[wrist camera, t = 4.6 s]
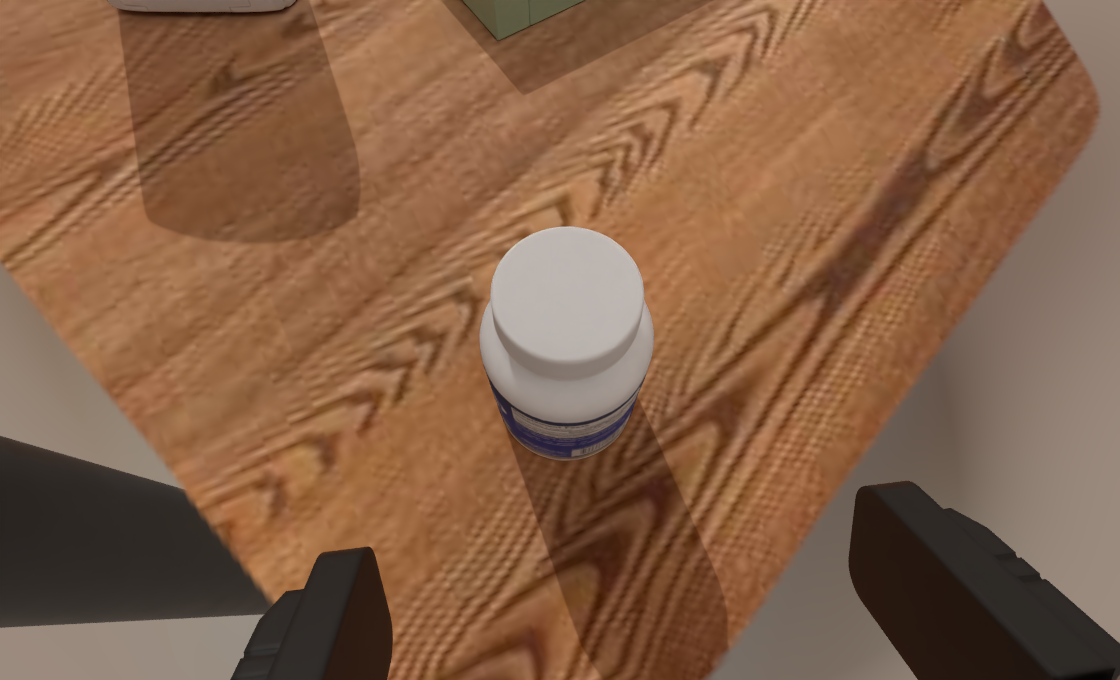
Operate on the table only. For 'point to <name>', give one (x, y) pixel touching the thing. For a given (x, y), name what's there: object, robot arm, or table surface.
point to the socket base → (515, 13)
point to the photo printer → (201, 5)
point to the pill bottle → (566, 341)
